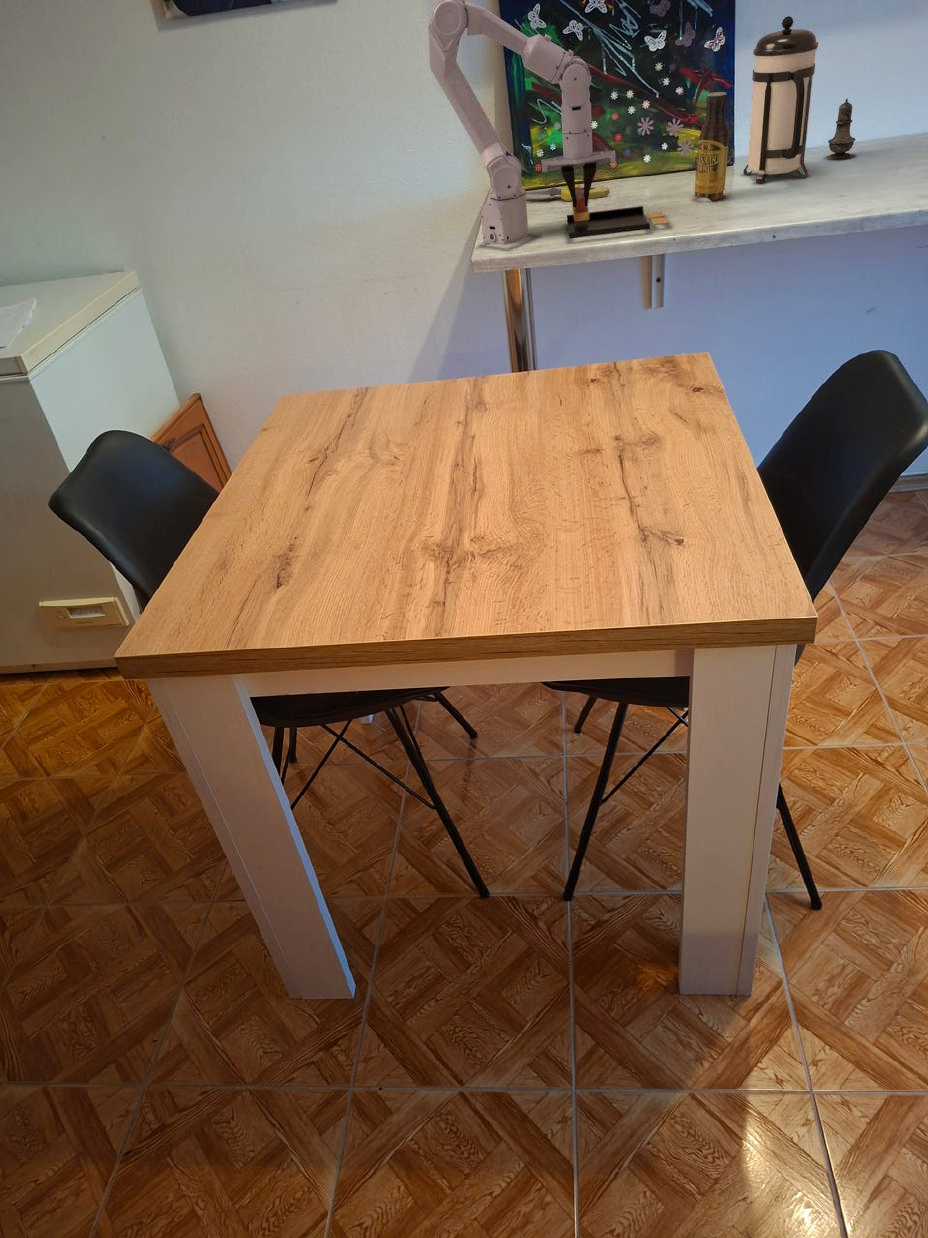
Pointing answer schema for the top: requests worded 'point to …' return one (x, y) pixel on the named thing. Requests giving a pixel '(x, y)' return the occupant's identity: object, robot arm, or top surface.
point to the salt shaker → (842, 134)
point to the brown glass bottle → (712, 149)
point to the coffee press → (781, 101)
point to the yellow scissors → (566, 194)
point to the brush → (580, 210)
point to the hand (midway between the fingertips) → (580, 205)
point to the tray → (610, 222)
